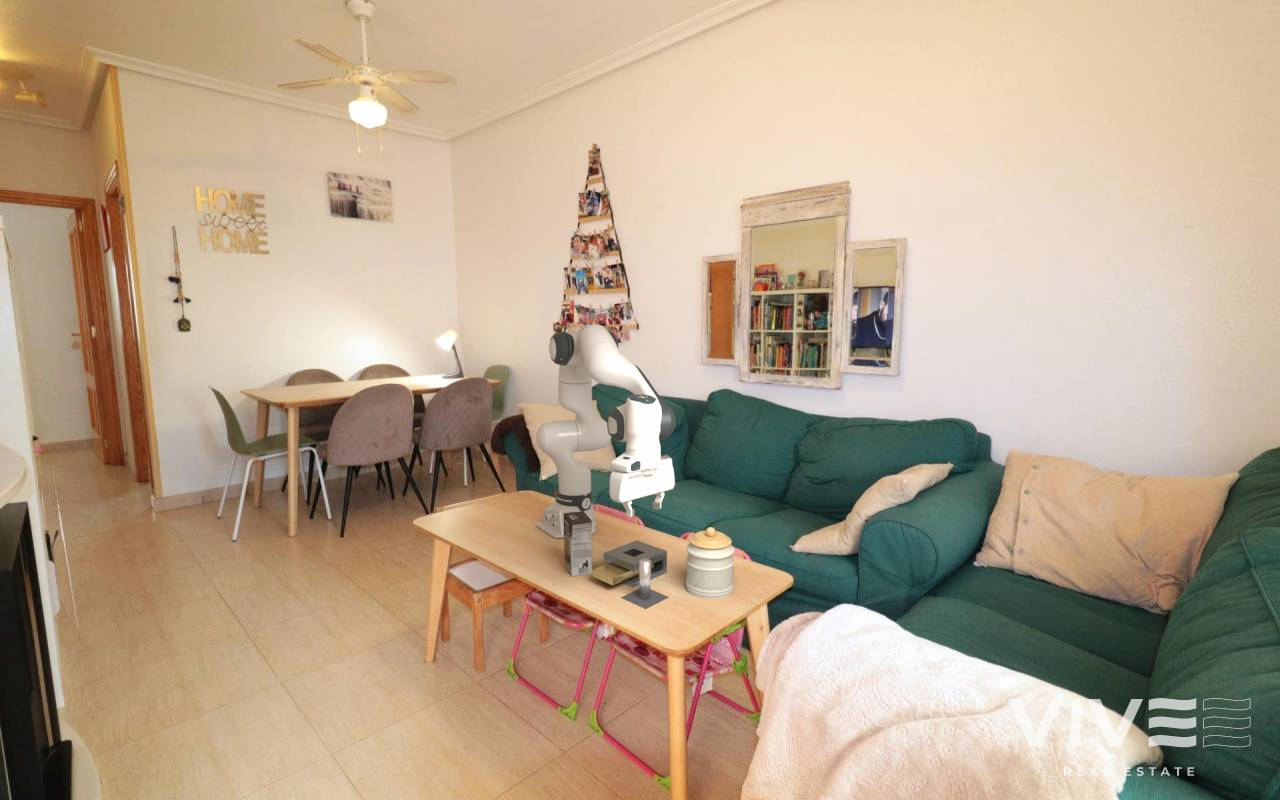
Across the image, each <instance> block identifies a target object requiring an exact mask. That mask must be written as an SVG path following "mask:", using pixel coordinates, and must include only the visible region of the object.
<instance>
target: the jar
mask: <svg viewBox="0 0 1280 800" xmlns="http://www.w3.org/2000/svg"><path fill="white" fill-rule="evenodd" d="M732 543H733V541H732V538H731V537H729V536H728V535H726V534H725V533H723V532H720V531H718V530H716V529H715V528H714V527H712V526H709V527H707V528H706V529H705V530H700V531H697V532H696V533H695V534H693V535H691V536H690V537H689V543H687V544H686V546H685V549H686V552H687V557H686V559H685V562H686V579H685V587H686V590H687V592H688V594H690V595H692V596H695V597H697V598H700V599H703V600H704V599H705V600H720V599H719V598H721V599H724V598H723V597H725V598H727V597H729V596H731V595H732V594H733V592H734V588H735V582H734V581H735V580H734V574H735V573H734V572H735V569H734V567H735V558H734V557H733V555H734V554H735V550H736V549H735V547H734V545H732ZM732 591H733V592H732ZM731 593H732V594H731ZM730 594H731V595H730ZM728 595H729V596H728ZM726 596H727V597H726Z"/></svg>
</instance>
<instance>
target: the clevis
mask: <svg viewBox="0 0 1280 800" xmlns="http://www.w3.org/2000/svg"><path fill="white" fill-rule="evenodd" d="M640 559H650V560H651V580H654V579H656V578H658V577H660V576H662V575H665V574H667V573H668V551H667V550H666V549H663V548H659V547H658V546H654V545H652V544H649V543H646V542H643V541H641V540H637V539H636V540H634V541H631V542H629V543H628V542H627V543H626V544H623V545H621V546H617V547H615V548H613V549H610V550H607V551H605V552H603V560H604V561H606V562H608V563H606V564H604V565H600V566H598V567H596V568H592V577H593V578H595V579H597V580H600V581H601V582H604V583H607V584H608V585H611V586H615V585H617V584H620V583H622V584H625V585H627V586H629V587H630V588H633V589H635V588H636V587H639V560H640Z"/></svg>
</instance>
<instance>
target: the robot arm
mask: <svg viewBox="0 0 1280 800" xmlns="http://www.w3.org/2000/svg"><path fill="white" fill-rule="evenodd" d="M548 352H549V355H550V358H551V361H552V362H553V363H554V364H556V365H558V367H559V368H558V381H557V383H558V385H557V387H558V388H557V389H558V391H557V392H558V393H557V394H558V396H557V397H558V403H559V405H560V406H561V407H562V408H563V409H564V410H566V411H569V412H570V413H573V414H575V418H574V419H569V420H568V419H566V420H554V421H549V422H545V423H542V424H541V425H540V426H539V427H538V428H537V430H536V433H535V441H536V442H535V443H536V445H537V447H538V449H540V450H541V452H543V453H545V454H546V455H547V456H548V457H549V458H550V459H551V460H552V461H553V463H554V465H555V468H556V471H557V478H558V491H554V492H553V493H554V495H553V496H556V497H555V500H554V501H553V502H552V503H551V504H550V505H549V506H547V507H546V508H545V509H544V511H543V517H542V518H543V519H541V520H539V521H538V522H537V523H536V527H537V528H539V529H540V530H542V531H543V532H545V533H546V534H548V535H549V536H551V537H552V538H554V539H560V538H563V539H564V513H570V512H582V511H584V512H585V513H586V515H587V516H588V517H589V518H590V519H591V520H592V535H593V534H595V533H596V532H597V526H598V522H597V521H596V518H595V507H594V504H593V497H594V495H593V490H592V471H591V469H590V467H589V466H588V464H586V463H584V462H582V461H580V460H577V459H575V458H574V457H575V456H574V454H575V453H581V452H594V451H598V450H601V449H605V448H607V447H608V446H609V444H610V442H611V440H612V439H613V440H614V441H616V442H620V443H626V445H625V446H626V447H625V452H622V453H621V454H620V455H619V456H617V457H616V458H614V459H612V460H611V461H610V469H611V470H613V471H612V472H611V473H610V476H609V497H610V499H611V500H612V501H613V502H616V503H619V504H622V506H623V507H624V509H625V516H626V517H627V518H634V517H635V516H636V510H635V509H634V508H632V504H633V501H634V500H637V499H640V498H641V499H642V498H645V497H648V496H651V495H655V498H654V501H652V510H653V509H654V510H656V511H658V510H660V509H662V502H663V499H664V497H665V492H667V491H670V490H674V488H675V485H676V482H675V481H676V479H675V471H674V466H673V459H672V457H670V455H668V454H663V455H661V450H662V449H661V448H662V447H661V443H660V442H661V441H666V440H667V439H668V438H669V437H670V436H671V435H672V434H673V432H674V430H675V428H676V425H677V422H676V421H677V419H676V415H675V413H674V411H673V409H672V408H671V406H669V405H668V404H667V403H666V402H665V401H664V400H663V398H662V397H661V396H660V394H659V393H658V392H657V390H656V388H654V386H653V385H652V383H651V382H650V380H649V379H648V378H647V376H646V374H645V373H644V372H643V371H642V369H641V368H640V367H639V366H637V365H636V364H635V363H633V362H631V361H630V360H629V359H628V358H626V356H624V354H623V353H622V352H621V350H620V349H619V341H618V337H617V335H616V334H615V333H614V331H613V332H612V331H609V330H608V329H606V327H604V326H603V325H602V324H601V325H600V324H598V323H592V324H588V325H587V326H585V327H584V328H583V329H582V330H571V331H558V332H555V333H554V334H553V335H551V337H550V340H549V345H548ZM593 381H595V382H597V383H598V384H602V385H603V386H604V385H605V386H611V387H617V388H621V389H623V390H627V391H629V392H631V393H632V395H629V396H628V397H627V399H626V402H625V403H624V404H621V405H619V406H615V407H613V408H612V409H611V411H610V412H609V413H608V415H607V421H606V420H604V419H603V418H602V417H601V416H599V414H598V412H597V411H596V409H595V407H594V402H593V393H592V391H593V390H592V389H593Z"/></svg>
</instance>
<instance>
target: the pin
mask: <svg viewBox="0 0 1280 800" xmlns="http://www.w3.org/2000/svg"><path fill="white" fill-rule="evenodd" d="M651 586H652V581H651V560H650V559H640V560H639V586H638V589H639V598H640V599H642V600H648V599H650V598H651V590H652V589H651Z"/></svg>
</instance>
